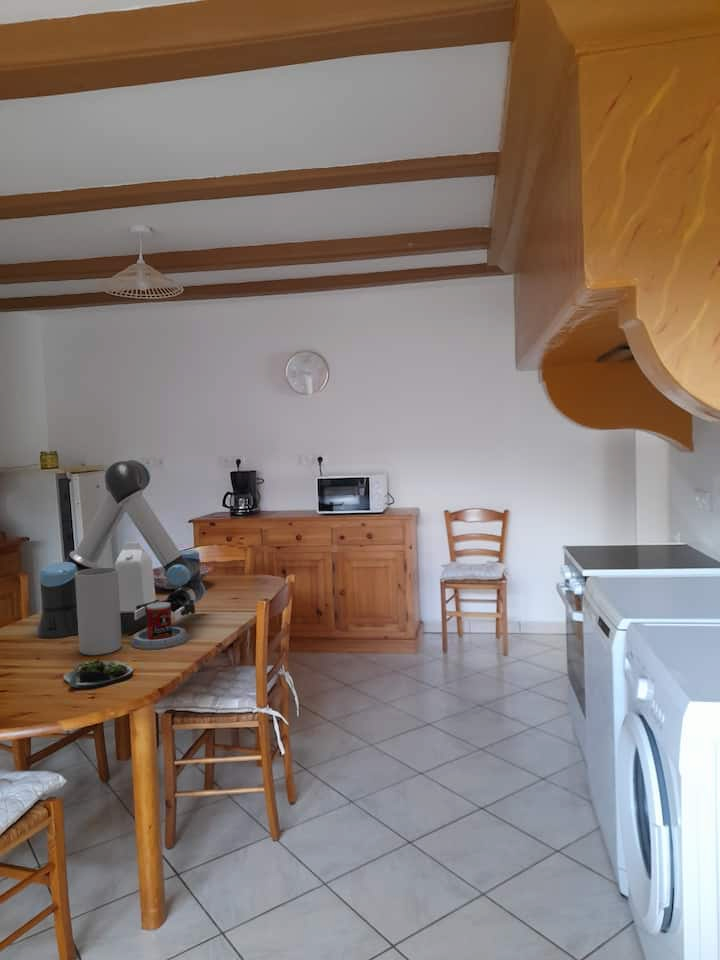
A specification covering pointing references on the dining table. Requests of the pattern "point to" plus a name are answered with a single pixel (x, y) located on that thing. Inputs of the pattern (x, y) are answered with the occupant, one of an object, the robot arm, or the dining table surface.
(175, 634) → the round tray
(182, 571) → the robot arm
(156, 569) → the ceramic bowl
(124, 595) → the milk
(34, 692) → the dining table surface
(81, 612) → the cylinder vase
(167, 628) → the canned food
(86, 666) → the salad plate
